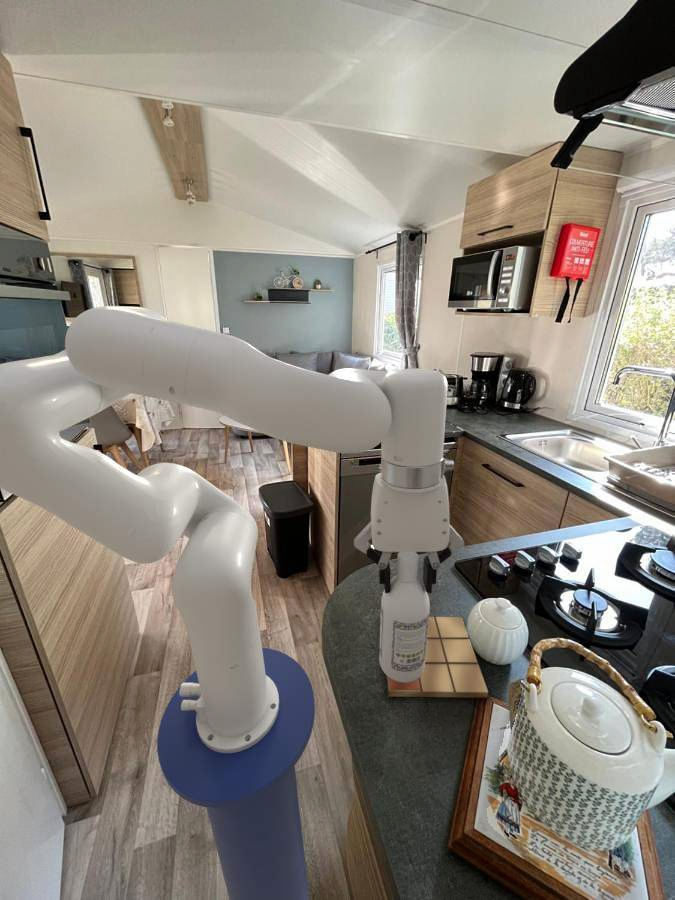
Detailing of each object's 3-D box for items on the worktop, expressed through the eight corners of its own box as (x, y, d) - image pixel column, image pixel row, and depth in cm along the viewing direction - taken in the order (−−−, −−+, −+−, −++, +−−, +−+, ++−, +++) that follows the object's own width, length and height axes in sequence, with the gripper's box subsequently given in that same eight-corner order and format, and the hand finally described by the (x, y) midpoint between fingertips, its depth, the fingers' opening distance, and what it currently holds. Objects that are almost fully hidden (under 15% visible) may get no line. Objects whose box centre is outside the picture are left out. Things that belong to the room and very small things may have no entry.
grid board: (388, 696, 58) (388, 690, 58) (381, 621, 72) (381, 616, 72) (487, 697, 58) (488, 691, 57) (461, 621, 72) (461, 616, 71)
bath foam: (434, 668, 58) (445, 559, 51) (401, 693, 54) (408, 579, 47) (402, 638, 63) (408, 535, 56) (370, 659, 60) (372, 552, 53)
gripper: (471, 457, 51) (460, 569, 57) (344, 459, 52) (347, 569, 58) (490, 481, 44) (475, 605, 50) (342, 483, 45) (346, 605, 51)
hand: (406, 585), depth 54 cm, fingers closed on bath foam, 5 cm apart
